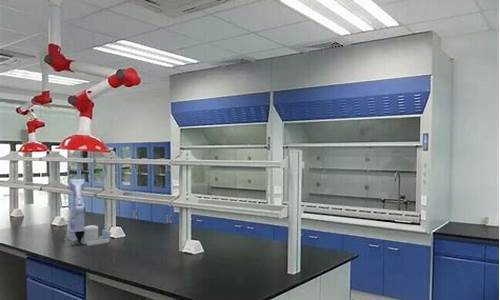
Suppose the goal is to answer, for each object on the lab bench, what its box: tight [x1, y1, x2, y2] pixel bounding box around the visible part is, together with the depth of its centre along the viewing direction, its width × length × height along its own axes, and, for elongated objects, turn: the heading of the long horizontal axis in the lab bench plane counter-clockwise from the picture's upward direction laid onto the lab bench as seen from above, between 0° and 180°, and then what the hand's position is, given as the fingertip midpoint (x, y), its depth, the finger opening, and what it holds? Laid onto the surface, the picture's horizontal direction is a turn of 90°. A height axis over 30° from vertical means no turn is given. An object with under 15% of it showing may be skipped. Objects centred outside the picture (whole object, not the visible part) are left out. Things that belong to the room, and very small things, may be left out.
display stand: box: [80, 229, 112, 246], centre depth 269 cm, size 12×16×7 cm
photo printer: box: [81, 224, 99, 245], centre depth 267 cm, size 10×4×12 cm, turn 122°
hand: (79, 242), depth 261 cm, fingers closed
